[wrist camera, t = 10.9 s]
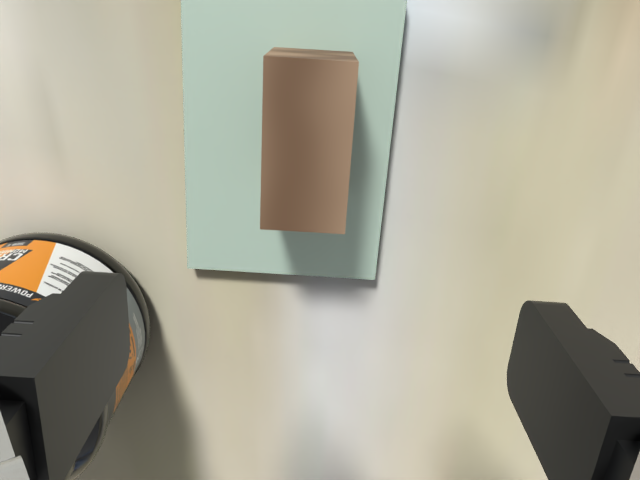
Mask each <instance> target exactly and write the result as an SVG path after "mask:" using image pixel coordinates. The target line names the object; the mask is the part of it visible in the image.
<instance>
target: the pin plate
mask: <svg viewBox="0 0 640 480" xmlns="http://www.w3.org/2000/svg"><path fill="white" fill-rule="evenodd" d="M406 5H407V0H181V23H182V64H183V105H184V146H185V186H186V227H187V268H192V269H208V270H224V271H240V272H256V273H272V274H288V275H304V276H320V277H336V278H352V279H368V280H375V275H376V266H377V257H378V249H379V240H380V231H381V222H382V214H383V205H384V196H385V188H386V179H387V170H388V161H389V153H390V144H391V135H392V127H393V118H394V109H395V100H396V92H397V83H398V74H399V66H400V57H401V48H402V39H403V31H404V22H405V13H406ZM273 47H284V48H300V49H316V50H332V51H348V52H353V53H354V55H355V56H356V58H357V60H358V61H359V68H358V80H357V92H356V105H355V117H354V129H353V142H352V154H351V166H350V178H349V191H348V203H347V215H346V228H345V234H332V233H315V232H297V231H279V230H262V229H260V198H261V148H262V98H263V56H264V55H265V54H266V53H267V52H269V51H270V50H271V49H272V48H273Z"/></svg>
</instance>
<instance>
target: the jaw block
mask: <svg viewBox="0 0 640 480" xmlns="http://www.w3.org/2000/svg"><path fill="white" fill-rule="evenodd" d="M358 68H359V61H358V60H357V58H356V56H355V55H354V53H353V52H348V51H332V50H316V49H300V48H284V47H273V48H272V49H271V50H270V51H269V52H267V53H266V54H265V55H264V56H263V98H262V148H261V198H260V229H262V230H279V231H297V232H315V233H332V234H345V228H346V215H347V203H348V191H349V178H350V166H351V154H352V142H353V129H354V117H355V105H356V92H357V80H358Z"/></svg>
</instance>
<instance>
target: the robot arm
mask: <svg viewBox="0 0 640 480" xmlns="http://www.w3.org/2000/svg"><path fill="white" fill-rule="evenodd" d="M129 353H130V331H129V317H128V302H127V288H126V281H125V278H124V276H123V274H121V273H108V272H93V271H82V272H81V273H80V274H79V275H78V276H77V277H76V278H75V279H74V280H73V281H72V282H71V283H70V284H69V285H68V286H67V287H66V288H65V290H64V291H63V292H62V293H61V294H57V293H52V294H50V295H48V296H46V297H44V298H42V299H41V300H39V301H37V302H35V303H33V304H31V305H29V306H28V307H27V308H26V309H25V310H24V311H23V312H22V313H21V314H20V315H19V316H18V317H17V318H16V319H15V320H14V323H11V324H10V325H9V326H8V327H7V328H6V329H5V330H4V331H3V332H2V334H1V336H0V480H64V479H65V477H66V476H67V474H68V472H69V470H70V469H71V467H72V465H73V463H74V461H75V460H76V458H77V456H78V454H79V453H80V451H81V449H82V447H83V445H84V444H85V442H86V440H87V438H88V437H89V435H90V433H91V431H92V429H93V428H94V426H95V424H96V422H97V421H98V419H99V417H100V415H101V413H102V412H103V410H104V408H105V406H106V405H107V403H108V401H109V399H110V397H111V396H112V394H113V392H114V390H115V388H116V387H117V385H118V383H119V381H120V380H121V378H122V376H123V374H124V372H125V370H126V367H127V364H128V359H129ZM507 387H508V392H509V396H510V399H511V401H512V403H513V405H514V407H515V410H516V412H517V414H518V416H519V418H520V420H521V422H522V424H523V427H524V429H525V431H526V433H527V435H528V437H529V439H530V441H531V444H532V446H533V448H534V450H535V452H536V454H537V456H538V458H539V461H540V463H541V465H542V467H543V469H544V471H545V473H546V476H547V478H548V480H640V372H639V371H638V370H637V369H636V368H635V366H634V365H633V364H630V363H629V359H628V358H627V357H626V356H625V355H624V354H623V352H622V351H621V350H620V349H619V348H618V347H617V345H616V344H615V343H613V342H612V341H610V340H609V339H607V338H605V337H604V336H602V335H601V334H599V333H598V332H596V331H595V330H593V329H587V328H586V326H585V325H584V324H583V323H582V321H581V320H580V319H579V318H578V317H577V315H576V314H575V313H574V312H573V310H572V309H571V308H570V307H569V306H568V305H567V304H566V303H558V302H542V301H526V302H525V303H524V304H523V306H522V308H521V311H520V314H519V319H518V323H517V328H516V332H515V337H514V341H513V346H512V350H511V355H510V359H509V363H508V369H507Z"/></svg>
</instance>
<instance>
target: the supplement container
mask: <svg viewBox="0 0 640 480" xmlns="http://www.w3.org/2000/svg"><path fill="white" fill-rule="evenodd" d="M82 271H93V272H108V273H121V274H123V276H124V278H125V281H126V288H127V302H128V317H129V331H130V353H129V359H128V364H127V367H126V370H125V372H124V374H123V376H122V378H121V380H120V381H119V383H118V385H117V387H116V388H115V390H114V392H113V394H112V396H111V397H110V399H109V401H108V403H107V405H106V406H105V408H104V410H103V412H102V413H101V415H100V417H99V419H98V421H97V422H96V424H95V426H94V428H93V429H92V431H91V433H90V435H89V437H88V438H87V440H86V442H85V444H84V445H83V447H82V449H81V451H80V453H79V454H78V456H77V458H76V460H75V461H74V463H73V465H72V467H71V469H70V470H69V472H68V474H67V476H66V477H65V479H64V480H74V479H75V478H77V477H78V476H79V475H80V474H81V473H82V472H83V471H84V470H85V469H86V468H87V467H88V466H89V464H90V463H91V462H92V460H93V459H94V457H95V456H96V454H97V452H98V450H99V448H100V446H101V444H102V442H103V439H104V436H105V433H106V429H107V426H108V424H109V422H110V420H111V418H112V416H113V414H114V413H115V411H116V409H117V407H118V405H119V403H120V401H121V399H122V397H123V395H124V393H125V391H126V389H127V387H128V385H129V383H130V381H131V380H132V378H133V376H134V375H135V373H136V372H137V370H138V369H139V367H140V365H141V363H142V361H143V359H144V357H145V354H146V352H147V348H148V344H149V339H150V318H149V312H148V308H147V305H146V302H145V299H144V297H143V294H142V292H141V290H140V288H139V287H138V285H137V283H136V282H135V280H134V279H133V278H132V276H131V275H130V274H129V273H128V271H127V270H126V269H125V268H124V267H123V266H122V265H121V264H120V263H119V262H117V261H116V260H115V259H114V258H113V257H111V256H110V255H109V254H107V253H106V252H104V251H103V250H101V249H99V248H98V247H96V246H94V245H92V244H90V243H88V242H85V241H82V240H80V239H77V238H74V237H70V236H66V235H61V234H54V233H28V234H21V235H16V236H12V237H9V238H6V239H3V240H1V241H0V336H1V334H2V332H3V331H4V330H5V329H6V328H7V327H8V326H9V325H10V324H11V323H14V320H15V319H16V318H17V317H18V316H19V315H20V314H21V313H22V312H23V311H24V310H25V309H26V308H27V307H28V306H29V305H31V304H33V303H35V302H37V301H39V300H41V299H42V298H44V297H46V296H48V295H50V294H52V293H57V294H61V293H62V292H63V291H64V290H65V288H66V287H67V286H68V285H69V284H70V283H71V282H72V281H73V280H74V279H75V278H76V277H77V276H78V275H79V274H80V273H81V272H82Z"/></svg>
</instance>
